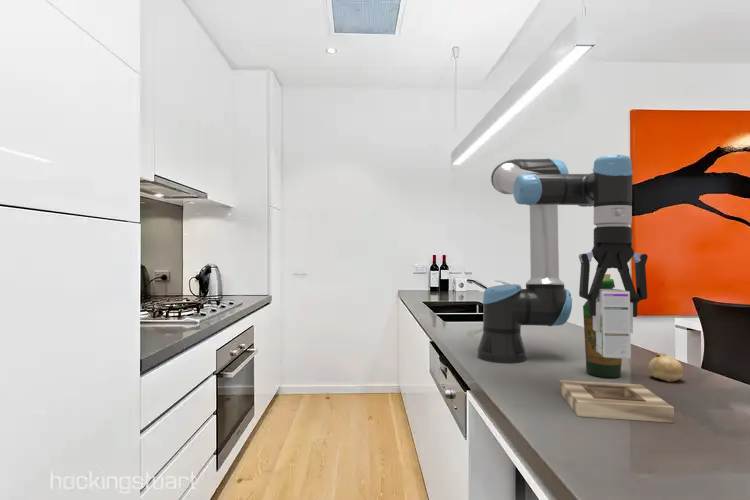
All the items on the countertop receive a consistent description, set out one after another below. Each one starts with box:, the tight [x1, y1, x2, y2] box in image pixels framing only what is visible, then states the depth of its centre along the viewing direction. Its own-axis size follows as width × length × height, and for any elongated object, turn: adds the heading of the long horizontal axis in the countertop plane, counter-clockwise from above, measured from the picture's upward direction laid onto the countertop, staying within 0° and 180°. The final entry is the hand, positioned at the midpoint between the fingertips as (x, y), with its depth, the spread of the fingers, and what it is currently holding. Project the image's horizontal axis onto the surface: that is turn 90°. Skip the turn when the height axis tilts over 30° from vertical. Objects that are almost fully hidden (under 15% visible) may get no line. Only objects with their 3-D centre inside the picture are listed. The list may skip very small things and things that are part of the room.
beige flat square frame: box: [559, 379, 675, 424], centre depth 99 cm, size 16×18×3 cm
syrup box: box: [596, 288, 632, 360], centre depth 99 cm, size 6×6×14 cm
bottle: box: [582, 273, 623, 379], centre depth 125 cm, size 11×11×28 cm
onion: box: [647, 352, 685, 383], centre depth 121 cm, size 8×8×7 cm
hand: (612, 331), depth 99 cm, fingers closed on syrup box, 6 cm apart
